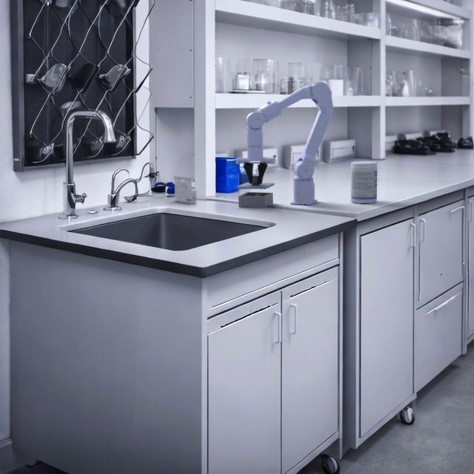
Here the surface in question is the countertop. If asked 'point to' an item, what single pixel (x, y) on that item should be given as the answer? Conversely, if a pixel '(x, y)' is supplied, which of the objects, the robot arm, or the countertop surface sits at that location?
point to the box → (255, 199)
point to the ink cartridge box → (184, 190)
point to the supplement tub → (363, 182)
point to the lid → (255, 184)
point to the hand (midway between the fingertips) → (255, 183)
